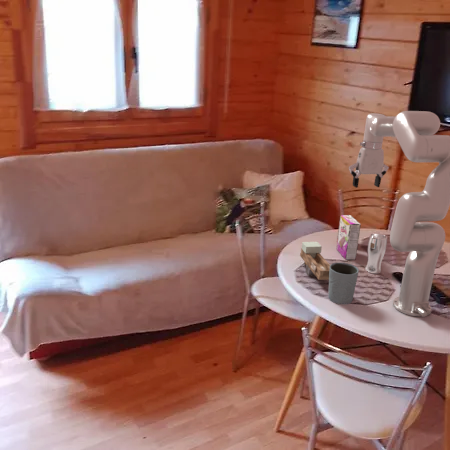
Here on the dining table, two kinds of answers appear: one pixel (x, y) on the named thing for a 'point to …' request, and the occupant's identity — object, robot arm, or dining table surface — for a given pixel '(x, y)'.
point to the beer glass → (376, 252)
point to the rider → (311, 248)
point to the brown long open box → (316, 265)
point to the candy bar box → (348, 237)
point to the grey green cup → (342, 282)
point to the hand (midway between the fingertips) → (366, 186)
